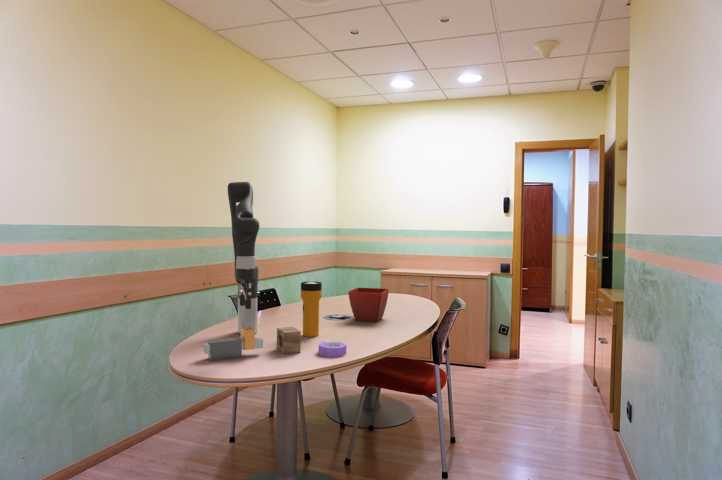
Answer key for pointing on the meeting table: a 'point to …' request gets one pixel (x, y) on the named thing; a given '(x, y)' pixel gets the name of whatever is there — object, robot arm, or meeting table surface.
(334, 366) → the meeting table surface
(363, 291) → the plant pot
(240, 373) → the meeting table surface
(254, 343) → the slip tube
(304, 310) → the flashlight
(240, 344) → the sleeve
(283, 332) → the socket block
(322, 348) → the masking tape
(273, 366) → the meeting table surface
